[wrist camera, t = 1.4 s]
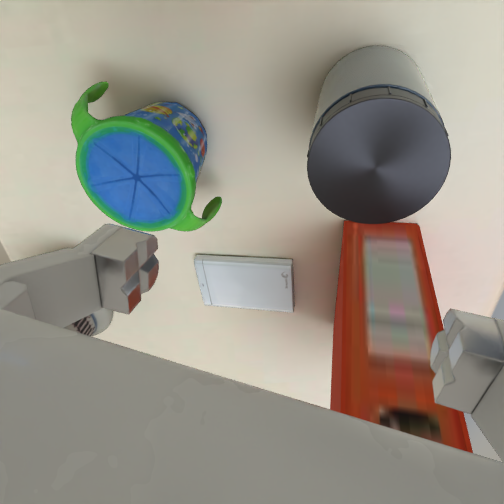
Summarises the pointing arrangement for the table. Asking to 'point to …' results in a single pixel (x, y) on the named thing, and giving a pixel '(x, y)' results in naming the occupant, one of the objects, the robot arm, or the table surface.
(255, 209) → the table surface
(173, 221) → the snack cup
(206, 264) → the hard drive
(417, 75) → the jar
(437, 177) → the jar lid
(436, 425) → the file binder
